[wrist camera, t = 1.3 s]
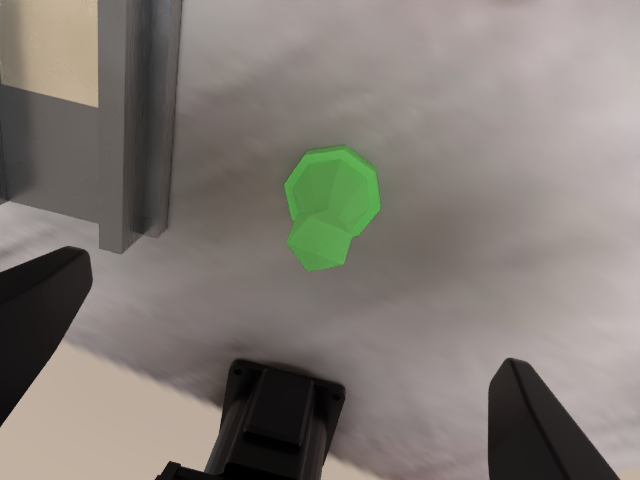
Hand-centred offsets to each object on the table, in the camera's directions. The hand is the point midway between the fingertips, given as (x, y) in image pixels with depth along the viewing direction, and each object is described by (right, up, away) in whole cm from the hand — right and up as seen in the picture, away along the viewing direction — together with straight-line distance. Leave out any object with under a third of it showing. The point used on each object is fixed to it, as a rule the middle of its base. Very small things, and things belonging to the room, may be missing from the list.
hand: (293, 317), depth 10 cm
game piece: (+1, +4, +11) cm, 12 cm away
